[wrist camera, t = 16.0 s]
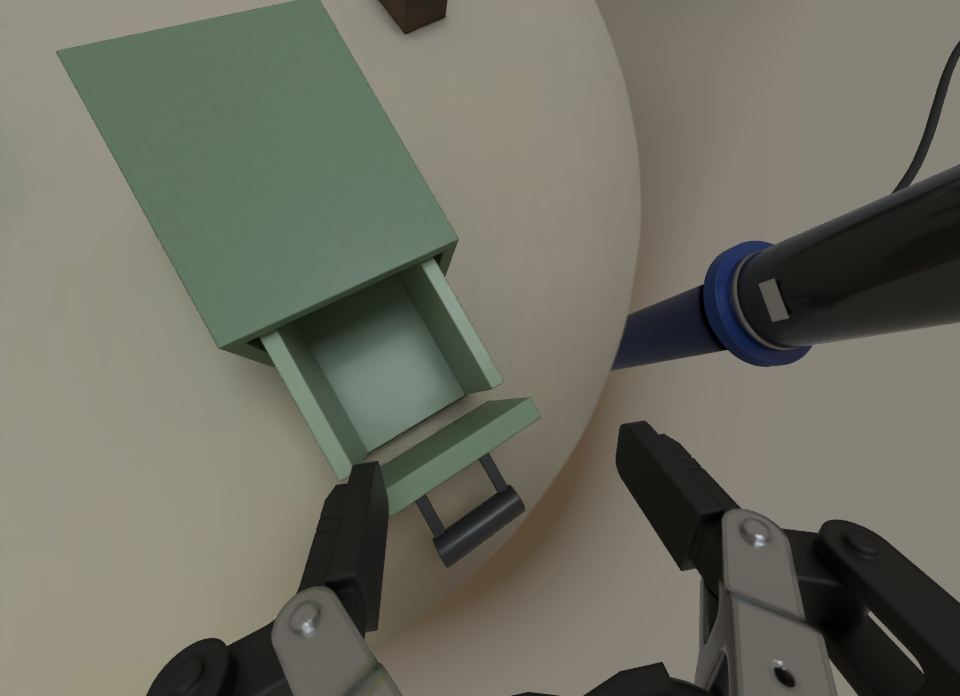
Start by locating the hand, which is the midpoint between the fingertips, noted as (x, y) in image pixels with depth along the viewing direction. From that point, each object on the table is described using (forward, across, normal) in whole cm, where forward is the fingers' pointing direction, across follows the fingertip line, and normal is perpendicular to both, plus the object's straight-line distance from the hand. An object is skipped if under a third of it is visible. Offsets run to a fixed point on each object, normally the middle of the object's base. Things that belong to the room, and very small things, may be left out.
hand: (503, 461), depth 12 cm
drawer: (+13, +5, +6) cm, 15 cm away
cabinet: (+20, +10, -4) cm, 22 cm away
